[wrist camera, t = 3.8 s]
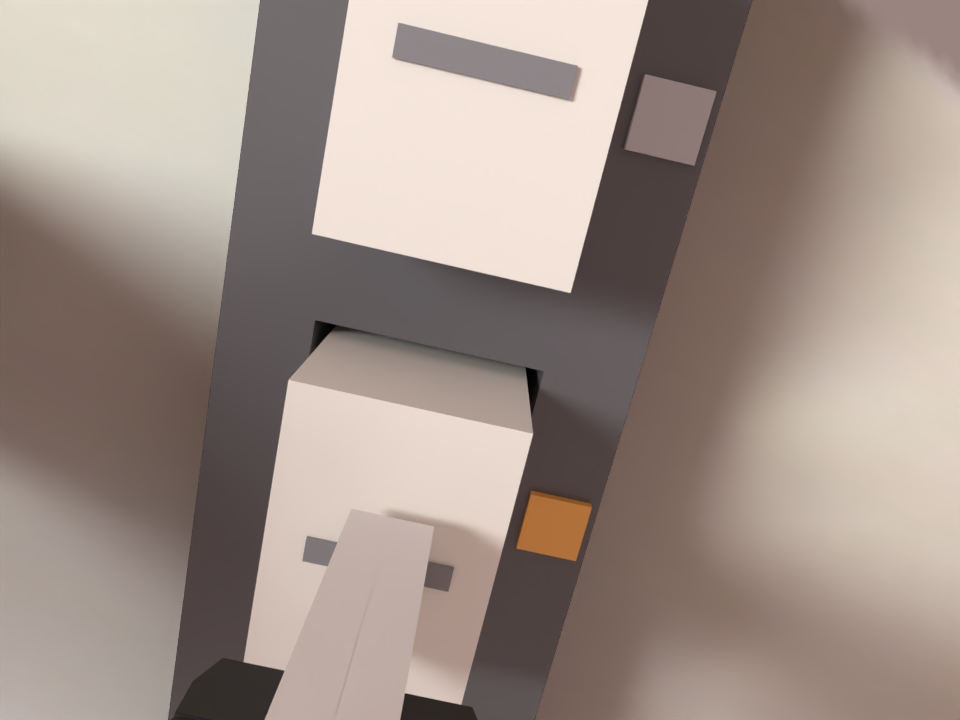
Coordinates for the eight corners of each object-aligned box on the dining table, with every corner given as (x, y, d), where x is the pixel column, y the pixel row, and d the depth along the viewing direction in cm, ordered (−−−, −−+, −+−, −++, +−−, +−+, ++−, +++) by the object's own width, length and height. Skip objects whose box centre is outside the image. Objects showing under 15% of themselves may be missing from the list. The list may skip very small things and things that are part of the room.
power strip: (208, 780, 26) (138, 934, 21) (405, -520, 16) (361, -828, 11) (462, 831, 26) (453, 994, 21) (812, -409, 16) (954, -658, 11)
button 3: (364, 207, 17) (310, 234, 12) (419, -102, 15) (382, -216, 10) (550, 250, 17) (570, 294, 12) (626, -50, 15) (685, -138, 11)
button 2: (304, 546, 20) (239, 679, 15) (345, 315, 18) (287, 381, 13) (467, 580, 20) (456, 724, 15) (524, 355, 18) (533, 435, 13)
